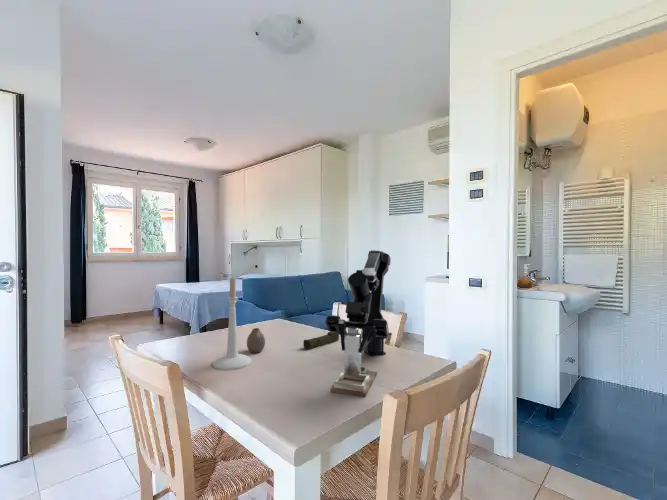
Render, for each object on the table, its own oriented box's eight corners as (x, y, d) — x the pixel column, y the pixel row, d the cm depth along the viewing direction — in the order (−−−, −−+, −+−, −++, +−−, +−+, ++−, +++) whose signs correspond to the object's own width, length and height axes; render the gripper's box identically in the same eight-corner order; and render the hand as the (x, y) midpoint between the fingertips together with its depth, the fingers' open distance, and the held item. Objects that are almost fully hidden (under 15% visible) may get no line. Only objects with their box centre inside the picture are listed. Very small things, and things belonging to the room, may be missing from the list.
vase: (242, 352, 129) (243, 329, 129) (253, 347, 136) (253, 325, 135) (258, 355, 127) (258, 331, 126) (268, 350, 133) (268, 327, 133)
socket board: (346, 370, 112) (346, 363, 112) (376, 374, 109) (376, 366, 109) (330, 391, 96) (330, 382, 96) (365, 397, 93) (365, 387, 93)
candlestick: (256, 358, 123) (257, 275, 123) (241, 371, 111) (242, 279, 110) (223, 356, 125) (224, 274, 125) (205, 368, 113) (205, 278, 112)
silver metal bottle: (351, 367, 103) (351, 324, 103) (364, 372, 100) (365, 328, 99) (340, 372, 99) (340, 327, 99) (353, 376, 96) (354, 331, 96)
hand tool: (309, 351, 133) (309, 339, 133) (302, 348, 136) (302, 337, 136) (343, 342, 146) (343, 331, 146) (336, 340, 149) (336, 329, 149)
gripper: (327, 289, 106) (314, 333, 95) (387, 292, 100) (380, 340, 90) (334, 309, 113) (323, 352, 103) (391, 313, 108) (385, 360, 97)
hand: (351, 351), depth 98 cm, fingers closed on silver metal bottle, 5 cm apart
